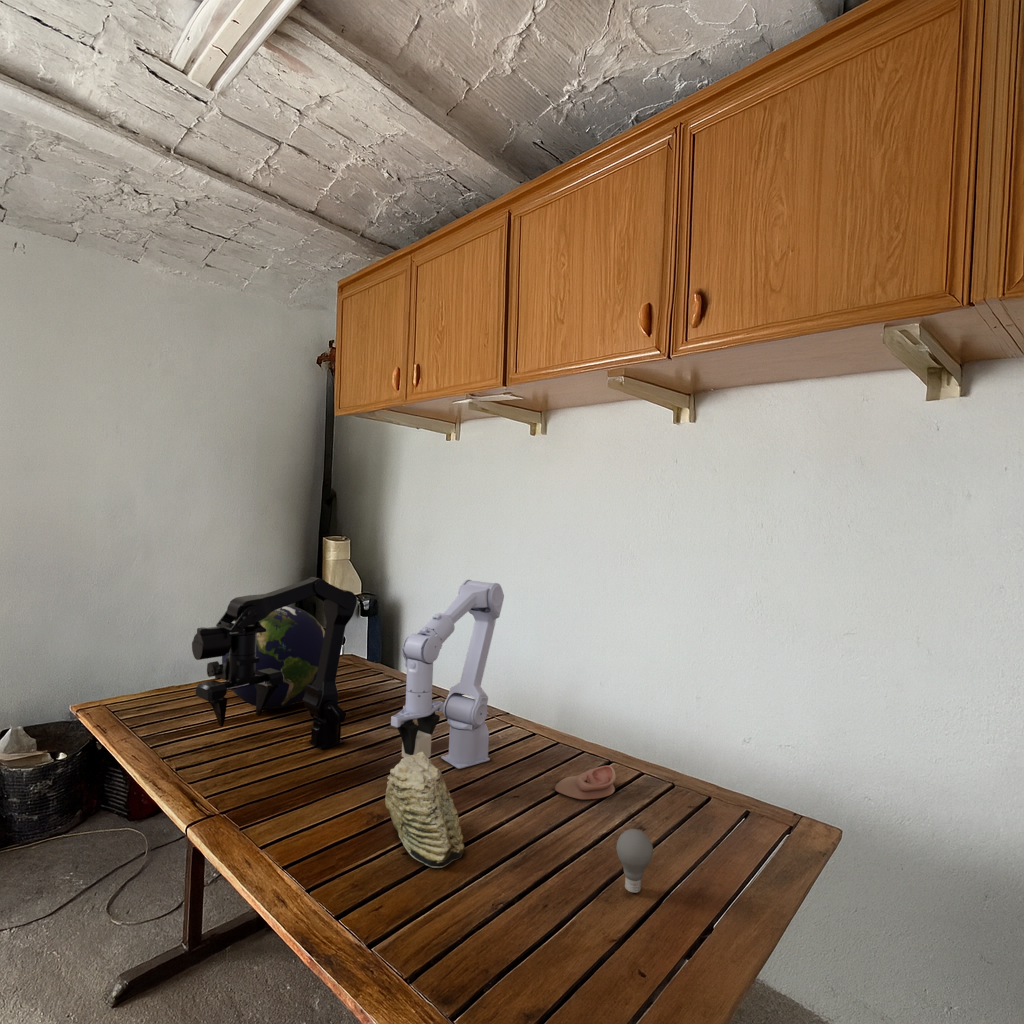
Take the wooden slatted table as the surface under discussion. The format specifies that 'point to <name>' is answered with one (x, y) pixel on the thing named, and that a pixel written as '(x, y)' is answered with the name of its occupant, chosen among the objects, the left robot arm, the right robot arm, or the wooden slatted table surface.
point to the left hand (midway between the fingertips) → (240, 720)
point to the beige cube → (420, 744)
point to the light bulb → (634, 857)
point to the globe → (287, 655)
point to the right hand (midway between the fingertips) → (416, 750)
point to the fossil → (424, 812)
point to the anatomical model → (589, 784)
